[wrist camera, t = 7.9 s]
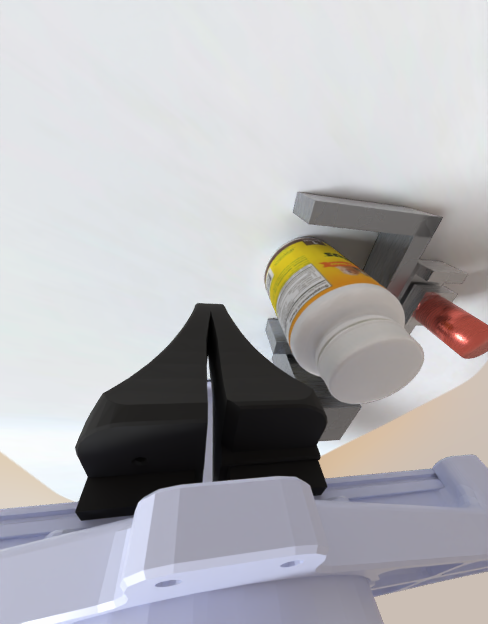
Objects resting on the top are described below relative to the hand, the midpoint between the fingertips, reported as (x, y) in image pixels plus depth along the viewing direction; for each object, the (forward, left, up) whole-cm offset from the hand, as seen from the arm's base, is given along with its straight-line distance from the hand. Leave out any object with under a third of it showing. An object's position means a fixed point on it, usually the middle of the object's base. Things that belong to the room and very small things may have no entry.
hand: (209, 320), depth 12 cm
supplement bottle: (0, -7, -7) cm, 9 cm away
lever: (-1, -17, -5) cm, 18 cm away
